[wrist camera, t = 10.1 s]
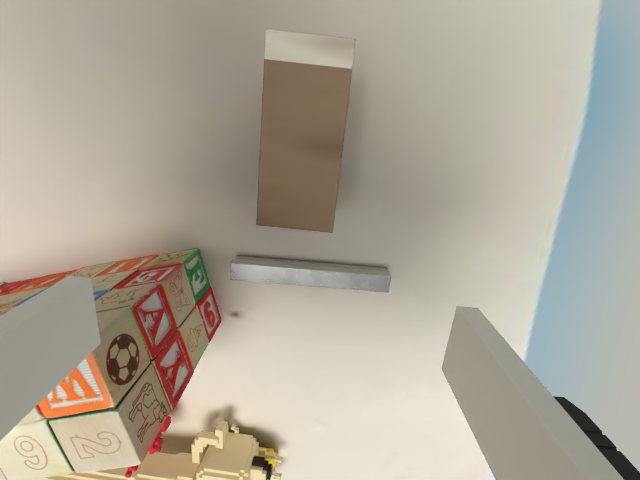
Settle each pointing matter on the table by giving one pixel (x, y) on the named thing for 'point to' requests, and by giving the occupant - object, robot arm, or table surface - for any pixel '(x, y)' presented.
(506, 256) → the table surface
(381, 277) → the grey bar
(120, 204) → the table surface
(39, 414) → the stack of blocks
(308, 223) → the walnut block
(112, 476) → the cream long toy figure
